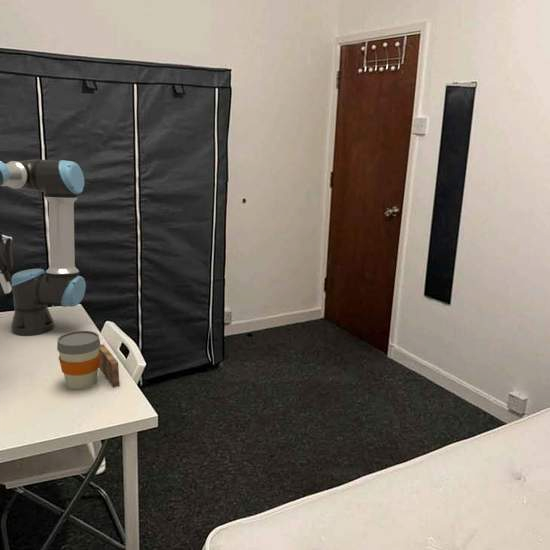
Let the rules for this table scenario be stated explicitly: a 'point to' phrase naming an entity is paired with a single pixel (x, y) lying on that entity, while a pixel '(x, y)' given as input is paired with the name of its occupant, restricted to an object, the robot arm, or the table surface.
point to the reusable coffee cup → (79, 358)
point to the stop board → (109, 366)
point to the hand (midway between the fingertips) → (8, 291)
